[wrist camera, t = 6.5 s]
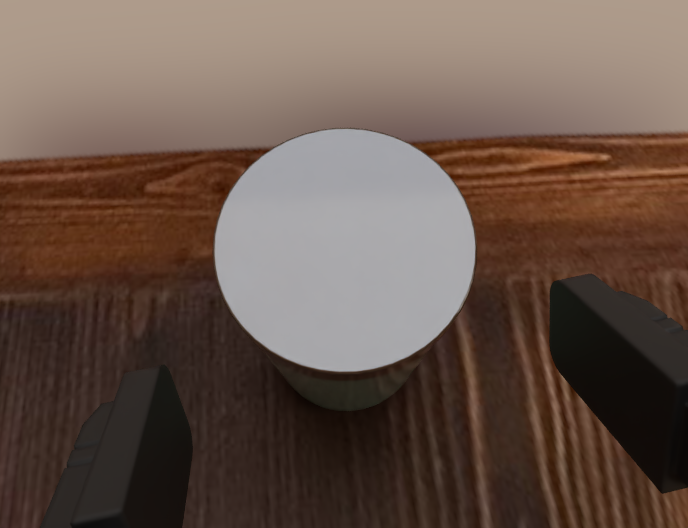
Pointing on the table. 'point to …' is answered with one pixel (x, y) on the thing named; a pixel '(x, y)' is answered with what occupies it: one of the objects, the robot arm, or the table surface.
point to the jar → (345, 261)
